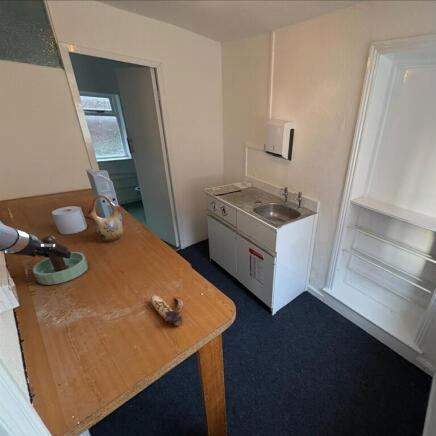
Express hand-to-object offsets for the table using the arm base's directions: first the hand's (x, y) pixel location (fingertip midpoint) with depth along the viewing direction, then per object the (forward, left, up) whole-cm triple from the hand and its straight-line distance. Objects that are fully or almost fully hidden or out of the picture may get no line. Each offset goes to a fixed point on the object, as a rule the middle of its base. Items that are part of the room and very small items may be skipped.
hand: (63, 255), depth 97 cm
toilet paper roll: (-16, +39, -7) cm, 43 cm away
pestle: (0, -4, -6) cm, 7 cm away
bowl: (0, -3, -7) cm, 7 cm away
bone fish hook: (+46, -33, -7) cm, 57 cm away
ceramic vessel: (+8, +24, -7) cm, 26 cm away
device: (-2, +51, -7) cm, 51 cm away
